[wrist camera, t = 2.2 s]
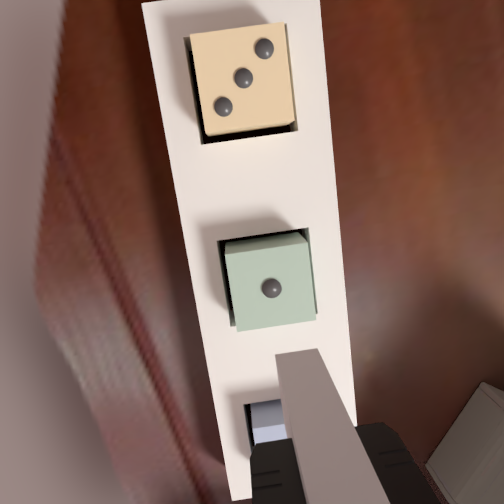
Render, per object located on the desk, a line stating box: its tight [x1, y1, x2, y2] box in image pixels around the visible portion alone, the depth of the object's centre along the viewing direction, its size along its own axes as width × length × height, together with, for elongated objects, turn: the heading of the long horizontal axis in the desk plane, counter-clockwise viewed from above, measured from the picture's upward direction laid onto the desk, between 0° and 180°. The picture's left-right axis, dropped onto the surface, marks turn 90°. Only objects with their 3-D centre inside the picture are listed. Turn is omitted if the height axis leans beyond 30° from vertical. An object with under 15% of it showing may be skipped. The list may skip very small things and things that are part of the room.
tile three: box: [190, 22, 295, 137], centre depth 23 cm, size 5×5×4 cm
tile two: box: [250, 399, 287, 445], centre depth 29 cm, size 5×5×4 cm
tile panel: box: [141, 0, 357, 501], centre depth 28 cm, size 34×10×3 cm, turn 8°
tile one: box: [225, 232, 316, 332], centre depth 26 cm, size 5×5×4 cm
